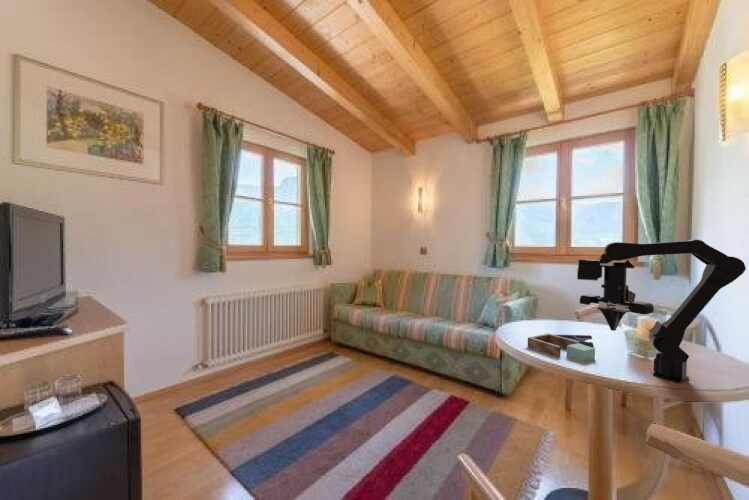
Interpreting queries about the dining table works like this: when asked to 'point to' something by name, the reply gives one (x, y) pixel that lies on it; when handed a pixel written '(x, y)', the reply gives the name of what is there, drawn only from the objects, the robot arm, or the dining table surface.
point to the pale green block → (580, 352)
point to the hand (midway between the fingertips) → (613, 330)
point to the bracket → (581, 340)
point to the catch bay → (550, 343)
